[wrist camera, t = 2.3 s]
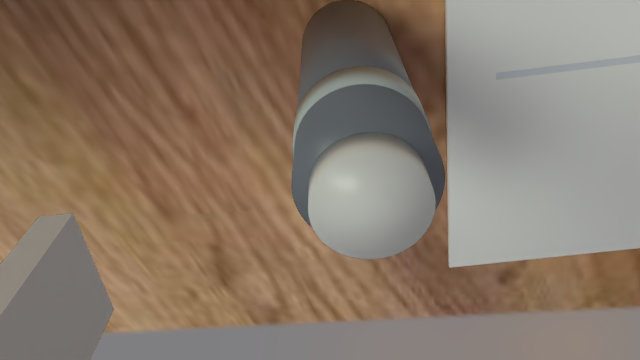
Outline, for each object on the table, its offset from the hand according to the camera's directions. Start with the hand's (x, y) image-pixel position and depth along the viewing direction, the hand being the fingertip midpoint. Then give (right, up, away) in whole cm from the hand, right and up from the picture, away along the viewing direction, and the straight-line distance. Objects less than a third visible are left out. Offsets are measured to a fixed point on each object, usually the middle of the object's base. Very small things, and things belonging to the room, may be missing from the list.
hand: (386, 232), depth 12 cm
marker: (0, +7, +11) cm, 13 cm away
